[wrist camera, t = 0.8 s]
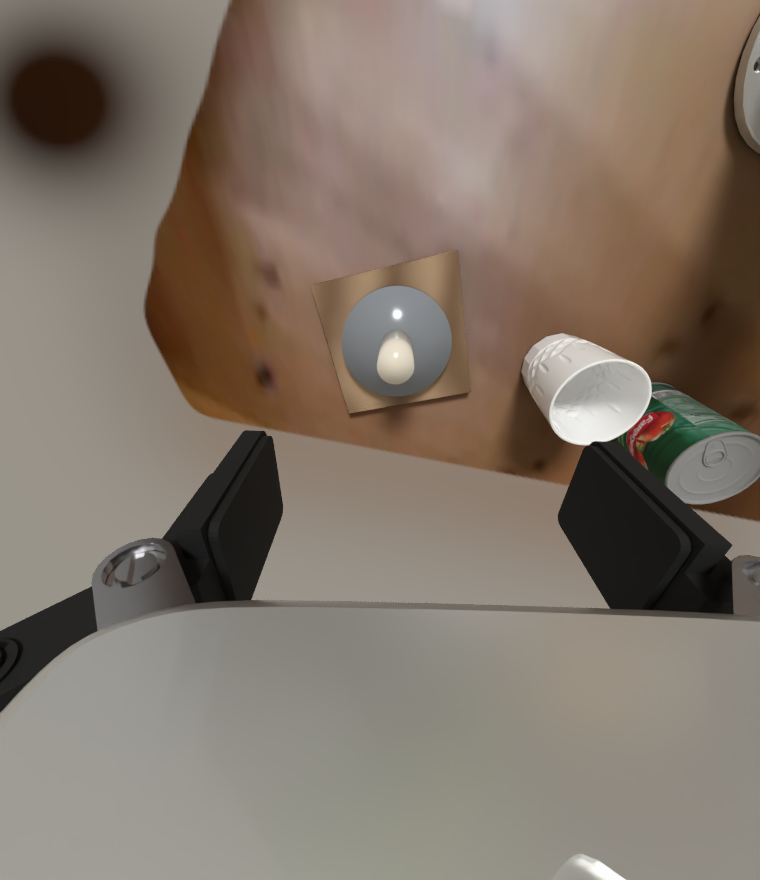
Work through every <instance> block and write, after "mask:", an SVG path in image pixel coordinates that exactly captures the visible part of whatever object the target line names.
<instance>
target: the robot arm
mask: <svg viewBox="0 0 760 880" xmlns="http://www.w3.org/2000/svg"><path fill="white" fill-rule="evenodd" d="M734 110H735V119H736V122H737V126H738V129H739V132H740V134H741V136H742V137H743V139H744V140H745V142H746V143H747V145H748V146H749V147H751V148H752V149H753V150H754V151H756V152H757V153H758V154H760V16H759V18H758V20H757V22H756V24H755V26H754V27H753V29H752V32H751V34H750V37H749V39H748V42H747V44H746V47H745V49H744V52H743V54H742V58H741V61H740V65H739V69H738V73H737V77H736V84H735V93H734ZM282 513H283V503H282V496H281V489H280V483H279V476H278V470H277V463H276V456H275V450H274V444H273V439H272V437H271V436H267V435H266V433H265V432H264V431H244V432H243V433H242V434H241V435H240V437H239V438H238V440H237V441H236V442H235V444H234V445H233V446H232V448H231V449H230V451H229V452H228V453H227V455H226V456H225V458H224V459H223V460H222V462H221V463H220V464H219V466H218V467H217V468H216V470H215V471H214V473H212V474H210V475H209V476H208V477H207V479H206V480H205V481H204V483H203V484H202V485H201V487H200V488H199V489H198V491H197V492H196V493H195V495H194V496H193V498H192V499H191V500H190V502H189V503H188V504H187V506H186V507H185V508H184V510H183V511H182V512H181V514H180V515H179V517H178V518H177V519H176V521H175V522H174V523H173V525H172V526H171V528H170V529H169V530H168V531H167V533H166V534H165V536H164V537H163V538H162V539H160V538H147V539H141V540H137V541H134V542H131V543H128V544H126V545H124V546H122V547H121V548H118V549H117V550H115V551H114V552H112V553H111V554H110V555H108V556H107V557H106V558H105V559H104V560H103V561H102V562H101V563H100V564H99V565H98V566H97V568H96V570H95V572H94V573H93V577H92V587H90V588H88V589H86V590H83V591H81V592H79V593H77V594H75V595H73V596H72V597H69V598H67V599H65V600H63V601H61V602H59V603H57V604H55V605H53V606H51V607H49V608H47V609H44V610H43V611H40V612H38V613H36V614H34V615H32V616H30V617H28V618H26V619H24V620H22V621H20V622H18V623H16V624H14V625H12V626H10V627H8V628H6V629H4V630H2V631H0V880H760V557H755V556H750V555H747V556H745V555H744V556H738V557H736V558H734V559H733V560H732V561H730V560H729V559H728V558H727V557H726V556H725V554H726V553H727V551H728V550H729V549H730V548H731V546H732V544H731V543H729V542H728V541H727V540H726V539H725V538H724V537H723V536H721V535H720V534H719V533H718V532H717V531H716V530H715V529H714V528H713V527H711V526H710V525H709V524H708V523H707V522H706V521H705V520H703V519H702V518H701V517H700V516H699V515H698V514H697V513H696V512H695V511H693V510H692V509H691V508H690V507H689V506H688V505H687V504H685V503H684V502H683V501H682V500H681V499H680V498H679V497H678V496H676V495H675V494H674V493H673V492H672V491H671V490H670V489H669V488H667V487H666V486H665V485H664V484H663V483H662V482H661V481H660V480H658V479H657V478H656V477H655V476H654V475H653V474H652V473H651V472H649V471H648V470H647V469H646V468H645V467H644V466H643V465H642V464H640V463H639V462H638V461H637V460H636V459H635V458H634V457H633V456H631V455H630V454H629V453H628V452H627V451H626V450H625V449H624V448H622V447H621V446H620V445H619V444H618V443H616V442H602V441H594V442H592V443H591V444H590V445H589V446H586V447H585V448H584V449H583V451H582V454H581V457H580V459H579V462H578V464H577V467H576V469H575V472H574V475H573V477H572V480H571V482H570V485H569V487H568V490H567V493H566V495H565V498H564V500H563V503H562V505H561V508H560V511H559V514H558V521H559V524H560V526H561V528H562V530H563V531H564V533H565V534H566V536H567V538H568V540H569V541H570V543H571V544H572V546H573V548H574V550H575V551H576V553H577V554H578V556H579V558H580V559H581V561H582V563H583V564H584V566H585V568H586V569H587V571H588V573H589V574H590V576H591V578H592V579H593V581H594V583H595V584H596V586H597V587H598V589H599V591H600V592H601V594H602V596H603V597H604V599H605V601H606V602H607V604H608V606H609V607H610V609H599V608H571V607H570V608H569V607H542V606H540V607H539V606H508V605H473V604H437V603H396V602H395V603H394V602H352V601H288V600H287V601H286V600H284V601H283V600H280V601H279V600H277V601H276V600H251V599H252V596H253V593H254V591H255V588H256V585H257V582H258V579H259V577H260V574H261V572H262V569H263V566H264V563H265V561H266V558H267V555H268V552H269V550H270V547H271V544H272V542H273V539H274V536H275V534H276V531H277V528H278V525H279V523H280V520H281V517H282Z"/></svg>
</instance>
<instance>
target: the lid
mask: <svg viewBox="0 0 760 880" xmlns="http://www.w3.org/2000/svg"><path fill="white" fill-rule="evenodd" d="M451 346H452V335H451V329H450V325H449V322H448V320H447V318H446V316H445V314H444V312H443V310H442V309H441V307H440V306H439V304H438V303H437V302H436V301H435V300H434V299H433V298H432V297H431V296H429V295H428V294H426V293H425V292H423V291H421V290H419V289H417V288H414V287H410V286H405V285H390V286H384V287H381V288H378V289H376V290H374V291H372V292H370V293H368V294H367V295H365V296H364V297H363V298H362V299H361V300H359V302H358V303H357V304H356V305H355V306H354V308H353V309H352V311H351V312H350V314H349V316H348V318H347V320H346V322H345V325H344V328H343V333H342V351H343V356H344V359H345V362H346V365H347V367H348V369H349V370H350V372H351V373H352V375H353V376H354V377H355V378H356V379H357V381H359V382H360V383H361V384H362V385H363V386H365V387H366V388H368V389H370V390H371V391H373V392H376V393H378V394H382V395H386V396H406V395H411V394H414V393H417V392H419V391H421V390H423V389H425V388H426V387H428V386H429V385H431V384H432V383H433V382H434V381H435V380H436V379H437V378H438V377H439V376H440V374H441V373H442V372H443V370H444V368H445V366H446V365H447V362H448V360H449V357H450V353H451Z"/></svg>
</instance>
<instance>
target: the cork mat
mask: <svg viewBox="0 0 760 880" xmlns="http://www.w3.org/2000/svg"><path fill="white" fill-rule="evenodd" d="M390 285H405V286H410V287H414V288H417V289H419V290H421V291H423V292H425V293H426V294H428V295H429V296H431V297H432V298H433V299H434V300H435V301H436V302H437V303H438V304H439V306H440V307H441V309H442V310H443V312H444V314H445V316H446V318H447V320H448V322H449V325H450V329H451V335H452V346H451V353H450V357H449V360H448V362H447V365H446V366H445V368H444V370H443V372H442V373H441V374H440V376H439V377H438V378H437V379H436V380H435V381H434V382H433V383H432V384H431V385H429V386H428V387H426V388H425V389H423V390H421V391H419V392H417V393H414V394H411V395H406V396H386V395H382V394H378V393H376V392H373V391H371V390H370V389H368V388H366V387H365V386H363V385H362V384H361V383H360V382H359V381H357V379H356V378H355V377H354V376H353V375H352V373H351V372H350V370H349V369H348V367H347V365H346V362H345V359H344V356H343V351H342V333H343V328H344V325H345V322H346V320H347V318H348V316H349V314H350V312H351V311H352V309H353V308H354V306H355V305H356V304H357V303H358V302H359V300H361V299H362V298H363V297H364V296H365V295H367V294H368V293H370V292H372V291H374V290H376V289H378V288H381V287H384V286H390ZM311 288H312V292H313V295H314V298H315V302H316V305H317V309H318V312H319V315H320V319H321V322H322V325H323V329H324V332H325V335H326V339H327V342H328V345H329V349H330V352H331V356H332V359H333V362H334V366H335V369H336V372H337V376H338V379H339V382H340V386H341V389H342V392H343V396H344V399H345V403H346V406H347V409H348V413H355V412H361V411H366V410H372V409H378V408H383V407H389V406H395V405H400V404H406V403H412V402H417V401H423V400H429V399H434V398H440V397H446V396H451V395H457V394H463V393H468V392H471V389H470V378H469V367H468V355H467V344H466V333H465V322H464V311H463V300H462V288H461V277H460V266H459V255H458V251H457V250H455V251H451V252H447V253H443V254H438V255H434V256H430V257H426V258H422V259H418V260H413V261H409V262H405V263H401V264H397V265H393V266H388V267H384V268H380V269H376V270H372V271H368V272H363V273H359V274H355V275H351V276H347V277H343V278H339V279H334V280H330V281H326V282H322V283H318V284H314V285H312V286H311Z"/></svg>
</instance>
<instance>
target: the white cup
mask: <svg viewBox="0 0 760 880" xmlns="http://www.w3.org/2000/svg"><path fill="white" fill-rule="evenodd" d="M521 373H522V376H523V379H524V383H525V385H526V386H527V388H528V389H529V392H530V394H531V395H532V397H533V399H534V400H535V402H536V404H537V406H538V407H539V409H540V410H541V412H542V413H543V415H544V416H545V418H546V420H547V421H548V423H549V424H550V426H551V427H552V429H553V430H554V432H555V433H556V434H557V435H558V436H559V437H560V438H561V439H563V440H565V441H567V442H569V443H572V444H576V445H590V444H591V443H592V442H594V441H602V442H607V441H610V440H612V439H615V438H617V437H619V436H620V435H622V434H624V433H625V432H626V431H628V430H629V429H630V428H632V427H633V426H634V425H635V424H636V423H637V422H638V421H639V420H640V418H641V417H642V416H643V414H644V413H645V411H646V409H647V407H648V405H649V402H650V399H651V394H652V386H651V381H650V378H649V376H648V374H647V373H646V371H645V370H644V369H643V368H642V367H640V366H639V365H637V364H636V363H633V362H631V361H629V360H627V359H625V358H623V357H621V356H619V355H617V354H615V353H613V352H611V351H609V350H607V349H605V348H602V347H600V346H598V345H595V344H593V343H591V342H589V341H586V340H583V339H580V338H579V337H576V336H572V335H568V334H564V333H561V334H556V335H552V336H547V337H545V338H544V339H542V340H541V341H539V342H538V343H536V344H535V345H533V347H532V348H531V349H530V351H529V352H528V353H527V355H526V356H525V358H524V361H523V366H522V370H521Z"/></svg>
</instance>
